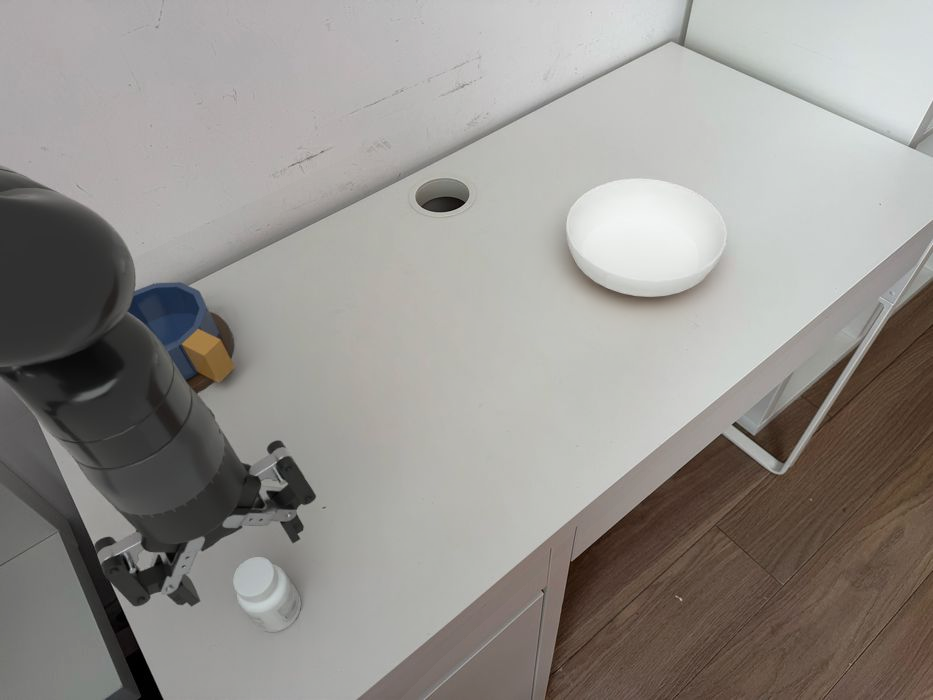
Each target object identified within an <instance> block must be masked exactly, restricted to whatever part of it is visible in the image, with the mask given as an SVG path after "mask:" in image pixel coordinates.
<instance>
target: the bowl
mask: <svg viewBox="0 0 933 700" xmlns="http://www.w3.org/2000/svg"><path fill="white" fill-rule="evenodd" d="M565 222H566V224H565V233H566V241H567V245H568V248H569V251H570V253H571V256H572V258H573V260H574V261H575V264H576V265H577V267H578V269H580V270H581V271H582V273H583V274H584V275H585V276H587V277H588V278H589V279H591V280H592V281H593V282H595V283H596V284H598V285H600V286H603V287H604V288H606V289H609V290H611V291H614V292H617V293H620V294H623V295H628V296H634V297H644V298H645V297H647V298H652V297H653V298H654V297H667V296H671V295H675V294H680V293H682V292H684V291H686V290H689V289H691V288H693V287H694V286H696V285H697V284H699V283H701V282H702V281H704V279H705V278H706V277H707V276H708V275H709V274H710V272H712V270H714V268H715V267H716V266H717V264H718V263H719V261H720V259H721V258H722V257H721V256H722V255H723V253H724V250H725V248H726V246H727V241H728V231H727V225H726V223H725V221H724V218H723V216H722V214H721V213H720V212H719V210H718V209H717V208H716V207H715V206H714V205H713V204H712V203H711V202H710V201H709V200H708V199H706V197H704V196H702V195H700V194H699V193H697V192H696V191H693V190H692V189H690V188H687V187H685V186H682V185H680V184H677V183H674V182H670V181H667V180H662V179H661V180H660V179H654V178H640V177H639V178H638V177H636V178H623V179H622V178H621V179H618V180H613V181H608V182H605V183H602V184H600V185H597V186H595V187H593V188H592V189H590V190H587V191H585V193H583V194H582V195H581V196H580V197H579V198H577V199H576V201H575V202H574V203H573V205H572V206H571V207H570V209H569V211H568V213H567V216H566V221H565Z"/></svg>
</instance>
